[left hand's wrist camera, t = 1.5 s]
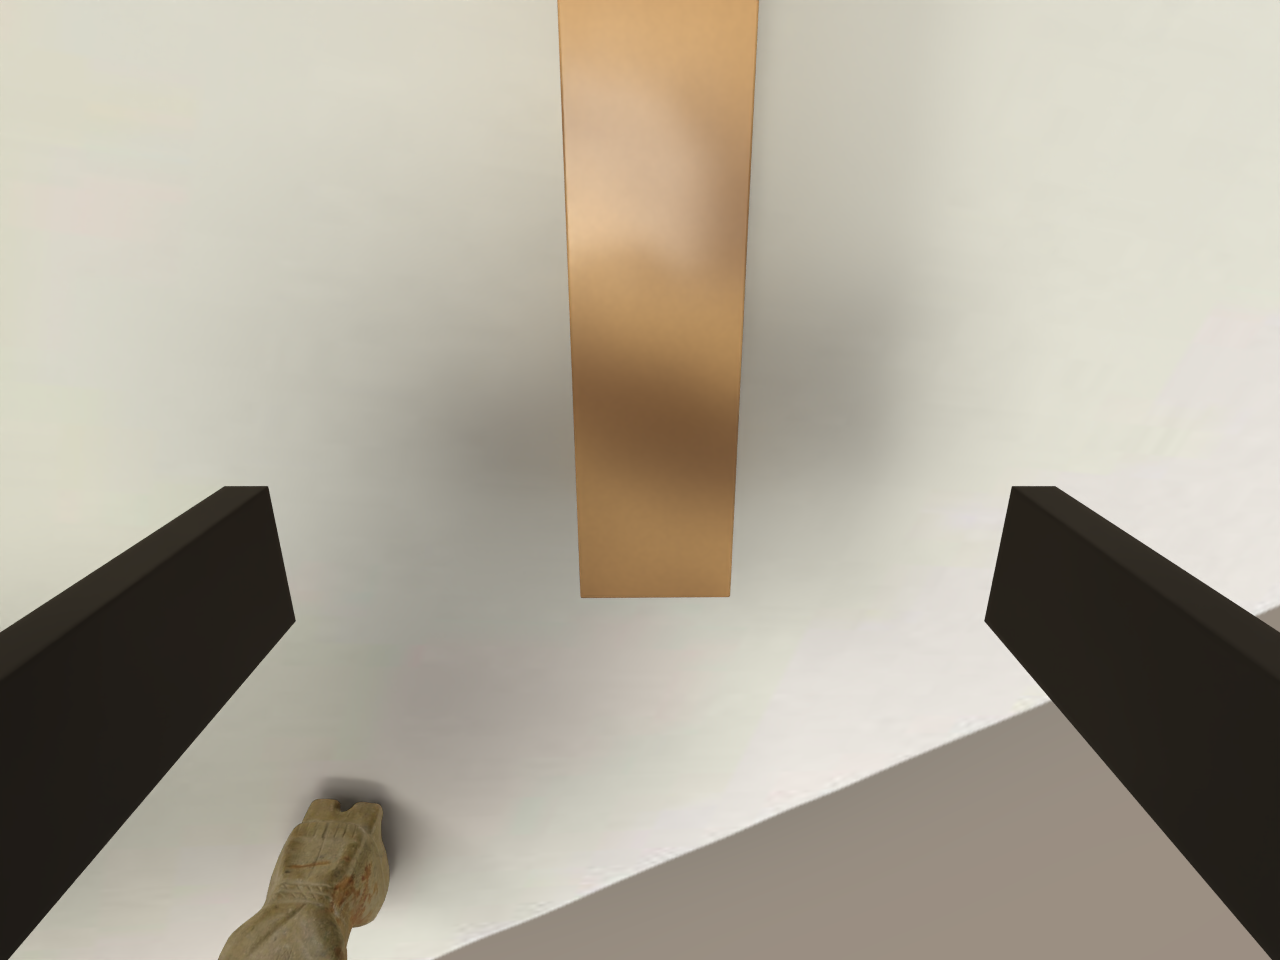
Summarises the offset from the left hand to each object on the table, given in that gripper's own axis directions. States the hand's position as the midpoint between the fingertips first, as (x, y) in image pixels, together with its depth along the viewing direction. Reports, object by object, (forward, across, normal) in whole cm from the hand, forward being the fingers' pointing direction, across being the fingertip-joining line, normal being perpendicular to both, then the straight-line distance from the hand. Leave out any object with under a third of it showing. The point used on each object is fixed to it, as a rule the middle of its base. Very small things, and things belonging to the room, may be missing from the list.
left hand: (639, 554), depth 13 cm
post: (+17, 0, -29) cm, 34 cm away
